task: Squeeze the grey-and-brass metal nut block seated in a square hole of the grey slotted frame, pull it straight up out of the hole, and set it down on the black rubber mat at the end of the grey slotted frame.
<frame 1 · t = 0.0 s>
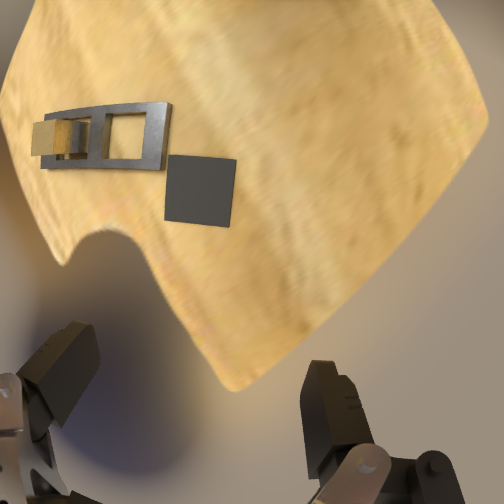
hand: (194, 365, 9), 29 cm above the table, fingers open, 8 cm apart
grey slotted frame: (100, 137, 34), on the table
mat: (198, 190, 36), on the table
nut block: (80, 138, 34), resting in grey slotted frame
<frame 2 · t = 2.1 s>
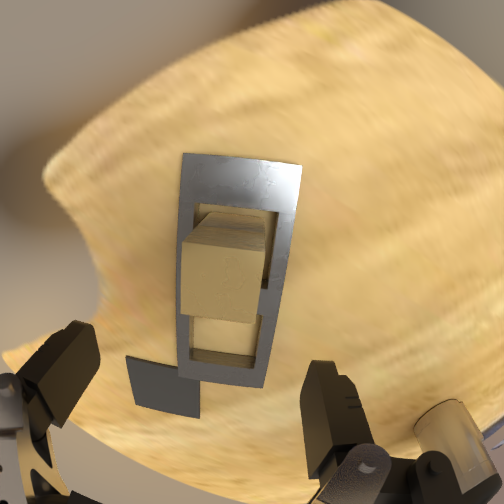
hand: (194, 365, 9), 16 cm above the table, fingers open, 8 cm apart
grey slotted frame: (230, 282, 25), on the table
mat: (164, 389, 30), on the table
nut block: (234, 240, 24), resting in grey slotted frame
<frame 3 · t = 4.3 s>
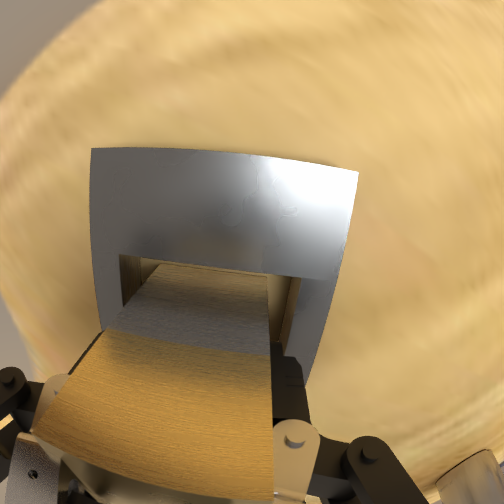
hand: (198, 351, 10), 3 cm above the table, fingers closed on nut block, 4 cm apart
grey slotted frame: (207, 378, 14), on the table
nut block: (209, 316, 12), resting in grey slotted frame, touching gripper
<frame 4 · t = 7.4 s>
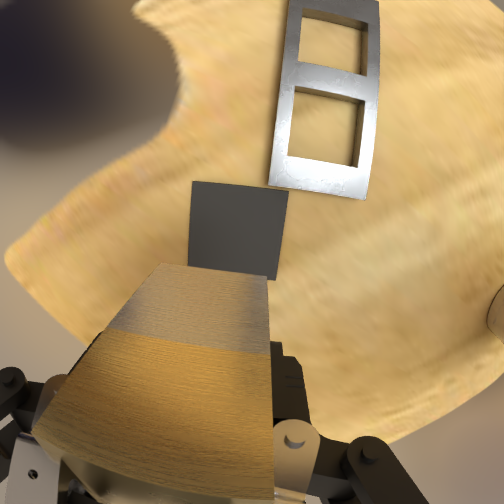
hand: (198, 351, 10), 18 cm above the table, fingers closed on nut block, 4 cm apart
grey slotted frame: (327, 80, 22), on the table
mat: (235, 231, 27), on the table
nut block: (209, 315, 12), point 16 cm above the table, touching gripper
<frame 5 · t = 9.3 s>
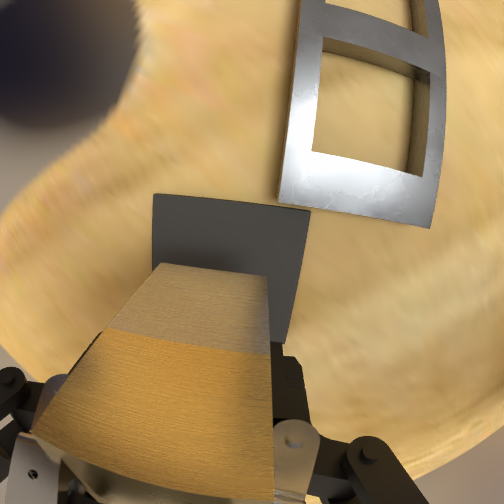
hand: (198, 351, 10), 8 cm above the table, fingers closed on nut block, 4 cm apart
grey slotted frame: (369, 40, 12), on the table
mat: (223, 273, 17), on the table
nut block: (209, 315, 12), point 5 cm above the table, touching gripper
when the fingers open (4 cm above the table, at t = 10.8 s): nut block drops 1 cm, resting on mat.
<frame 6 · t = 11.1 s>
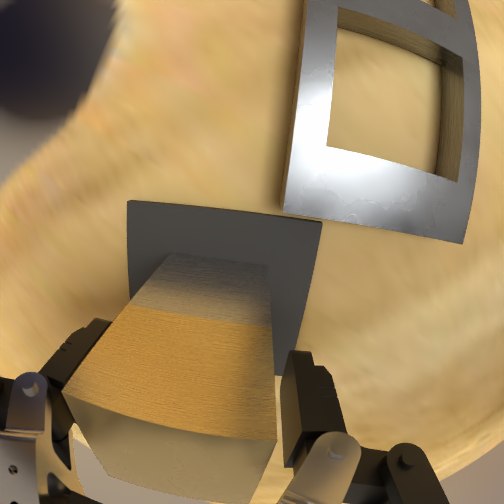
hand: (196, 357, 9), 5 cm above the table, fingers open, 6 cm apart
grey slotted frame: (389, 18, 9), on the table
mat: (214, 297, 14), on the table
nut block: (215, 301, 14), resting on mat
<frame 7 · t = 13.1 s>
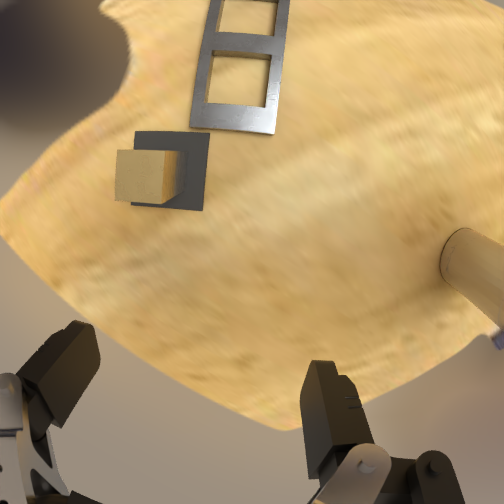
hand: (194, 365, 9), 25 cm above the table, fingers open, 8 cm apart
grey slotted frame: (244, 44, 25), on the table
mat: (168, 169, 30), on the table
nut block: (168, 169, 30), resting on mat
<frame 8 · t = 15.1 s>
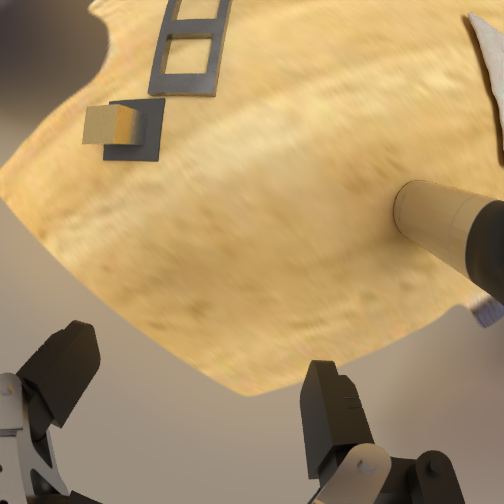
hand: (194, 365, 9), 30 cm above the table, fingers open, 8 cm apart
grey slotted frame: (195, 28, 29), on the table
mat: (132, 129, 34), on the table
nut block: (132, 129, 34), resting on mat
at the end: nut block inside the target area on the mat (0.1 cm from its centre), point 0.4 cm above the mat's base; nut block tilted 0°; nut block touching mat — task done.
